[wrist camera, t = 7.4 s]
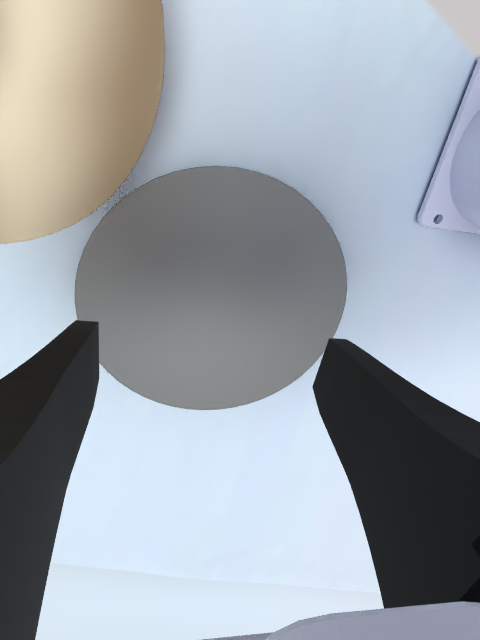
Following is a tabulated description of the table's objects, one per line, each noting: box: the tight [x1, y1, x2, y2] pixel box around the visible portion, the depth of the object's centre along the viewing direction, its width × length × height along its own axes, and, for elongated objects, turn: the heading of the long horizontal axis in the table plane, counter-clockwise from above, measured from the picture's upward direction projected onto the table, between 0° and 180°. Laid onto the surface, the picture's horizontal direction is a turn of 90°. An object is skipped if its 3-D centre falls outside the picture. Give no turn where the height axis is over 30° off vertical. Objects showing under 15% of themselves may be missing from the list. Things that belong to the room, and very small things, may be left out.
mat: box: [75, 166, 347, 410], centre depth 22 cm, size 15×15×1 cm
